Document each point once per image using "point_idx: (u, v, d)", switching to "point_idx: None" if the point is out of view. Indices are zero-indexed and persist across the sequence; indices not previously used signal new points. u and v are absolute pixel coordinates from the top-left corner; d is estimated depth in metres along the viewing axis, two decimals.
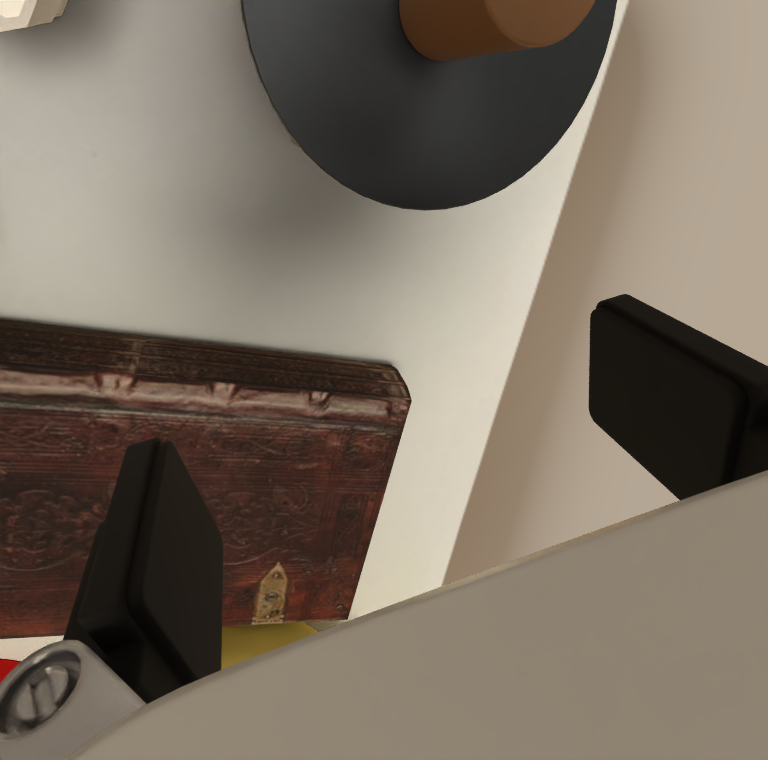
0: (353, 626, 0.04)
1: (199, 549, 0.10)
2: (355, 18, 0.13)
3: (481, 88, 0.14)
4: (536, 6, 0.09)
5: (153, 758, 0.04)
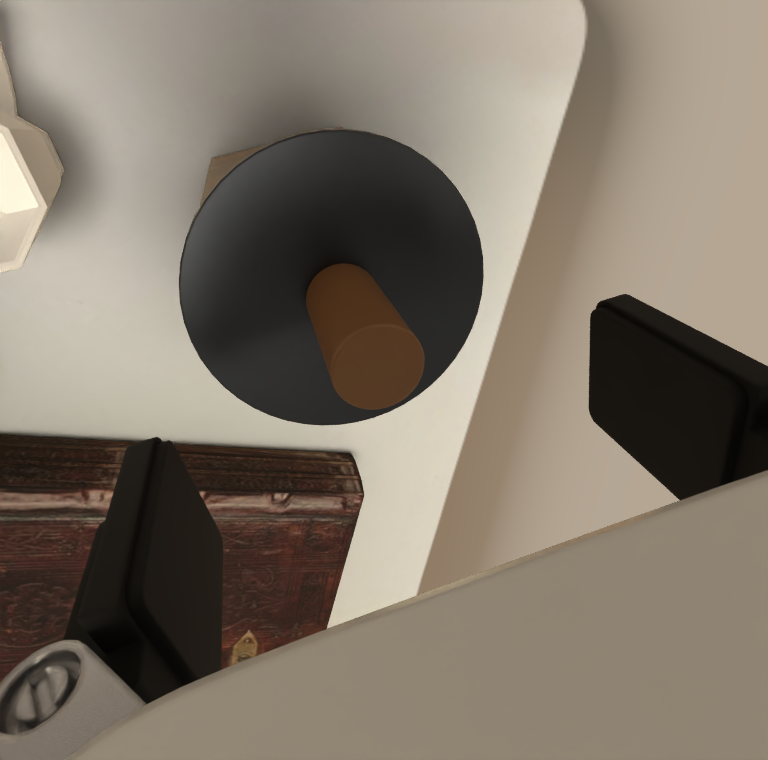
0: (354, 626, 0.04)
1: (199, 549, 0.10)
2: (272, 314, 0.17)
3: None
4: (376, 390, 0.13)
5: (154, 757, 0.04)
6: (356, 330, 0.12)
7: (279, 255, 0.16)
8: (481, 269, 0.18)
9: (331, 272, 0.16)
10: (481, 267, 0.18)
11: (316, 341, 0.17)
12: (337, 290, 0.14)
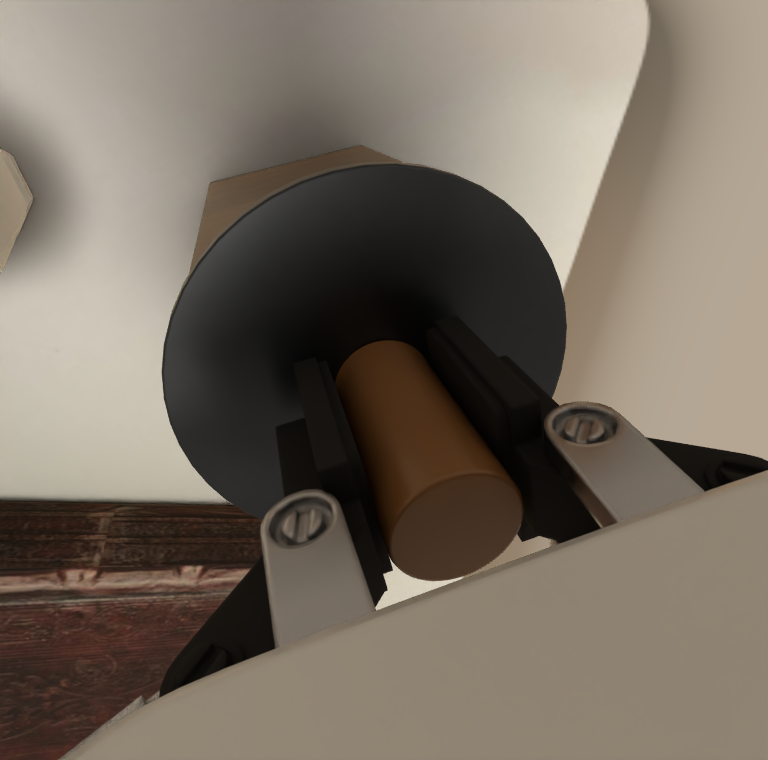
0: (353, 626, 0.04)
1: None
2: (289, 407, 0.12)
3: None
4: (451, 557, 0.09)
5: (153, 758, 0.04)
6: (428, 481, 0.08)
7: (300, 333, 0.11)
8: (563, 340, 0.13)
9: (372, 356, 0.11)
10: (563, 337, 0.13)
11: None
12: (385, 390, 0.10)
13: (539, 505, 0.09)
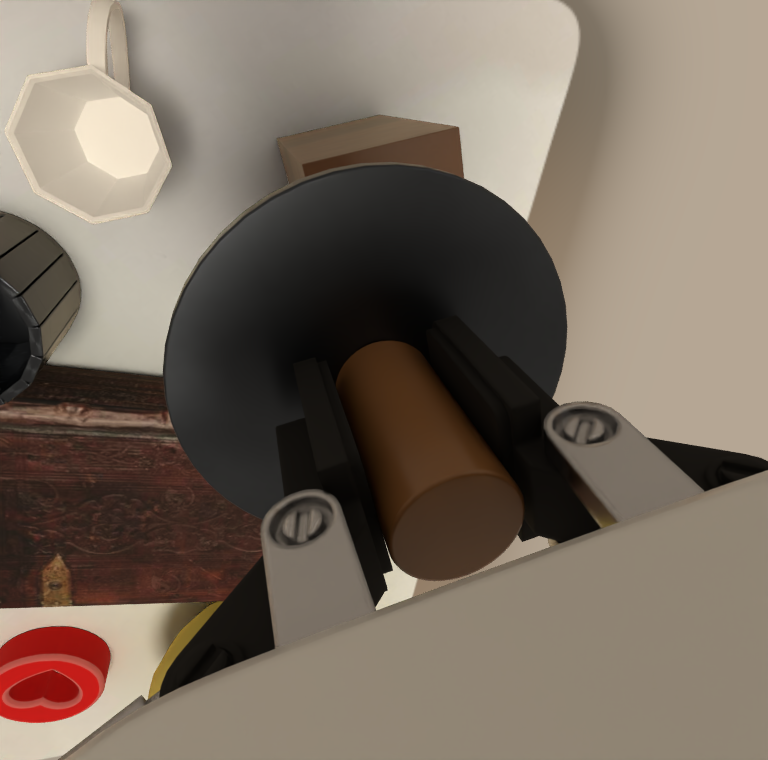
0: (354, 626, 0.04)
1: None
2: (290, 407, 0.12)
3: None
4: (452, 557, 0.09)
5: (154, 757, 0.04)
6: (429, 481, 0.08)
7: (301, 333, 0.11)
8: (564, 340, 0.13)
9: (373, 357, 0.11)
10: (564, 338, 0.13)
11: None
12: (386, 391, 0.10)
13: (539, 505, 0.09)
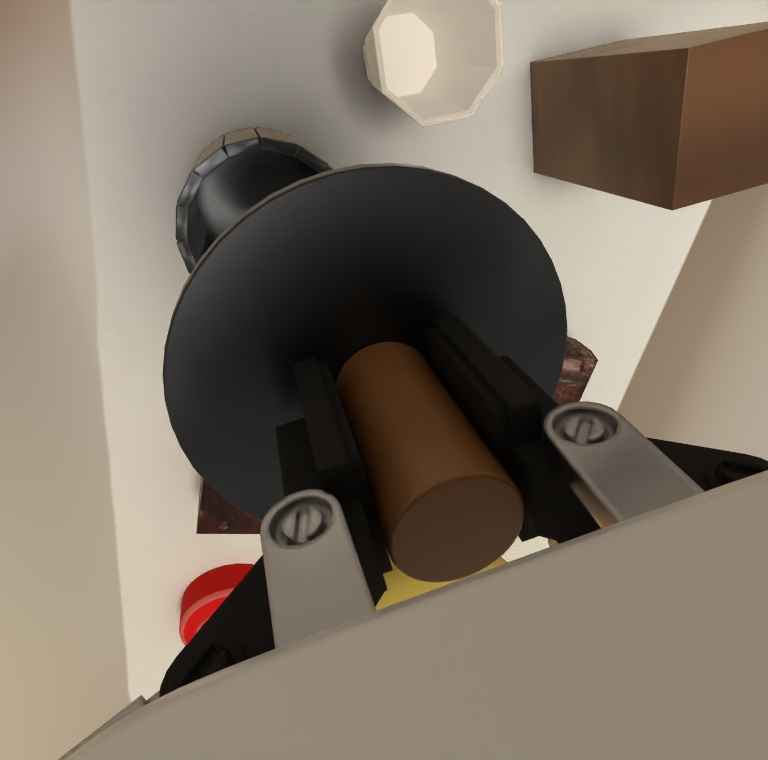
0: (353, 626, 0.04)
1: None
2: (290, 408, 0.12)
3: None
4: (452, 559, 0.09)
5: (153, 758, 0.04)
6: (429, 483, 0.08)
7: (301, 334, 0.11)
8: (564, 341, 0.13)
9: (373, 358, 0.11)
10: (564, 339, 0.13)
11: None
12: (386, 392, 0.10)
13: (539, 505, 0.09)
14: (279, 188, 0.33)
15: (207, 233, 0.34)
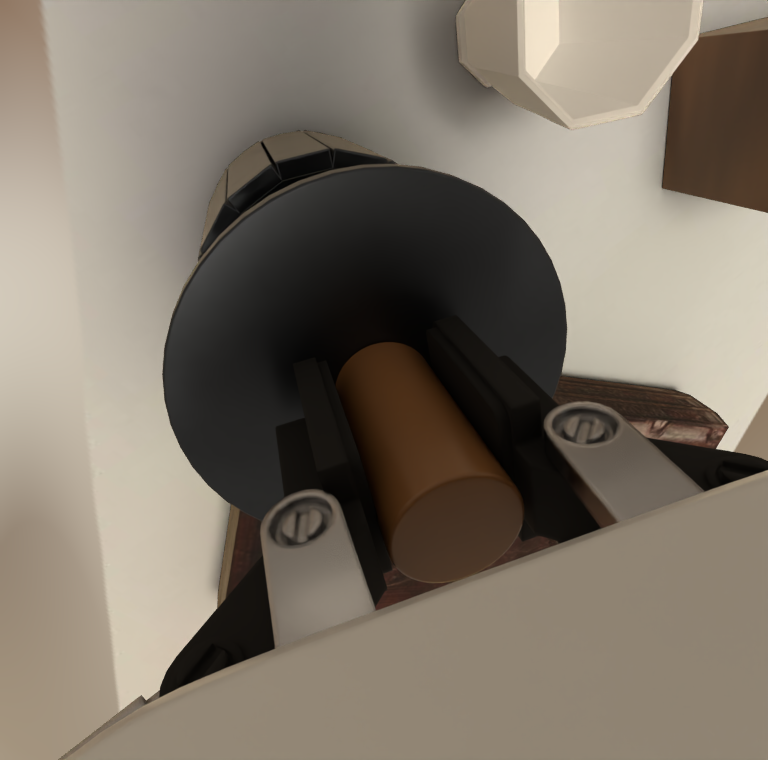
0: (354, 626, 0.04)
1: None
2: (290, 408, 0.12)
3: None
4: (452, 559, 0.09)
5: (154, 757, 0.04)
6: (429, 484, 0.08)
7: (301, 335, 0.11)
8: (564, 341, 0.13)
9: (373, 358, 0.11)
10: (564, 339, 0.13)
11: None
12: (386, 393, 0.10)
13: (539, 505, 0.09)
14: None
15: None
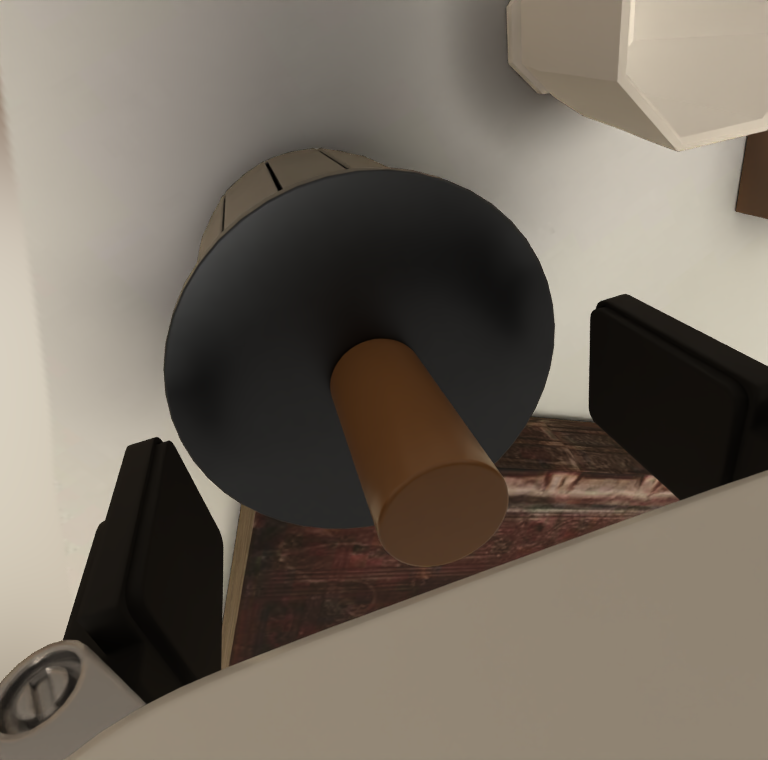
0: (353, 626, 0.04)
1: (199, 549, 0.10)
2: (287, 403, 0.13)
3: None
4: (439, 543, 0.09)
5: (153, 758, 0.04)
6: (416, 470, 0.08)
7: (296, 331, 0.12)
8: (551, 339, 0.14)
9: (366, 354, 0.12)
10: (552, 336, 0.14)
11: (342, 433, 0.14)
12: (378, 386, 0.11)
13: None
14: None
15: None
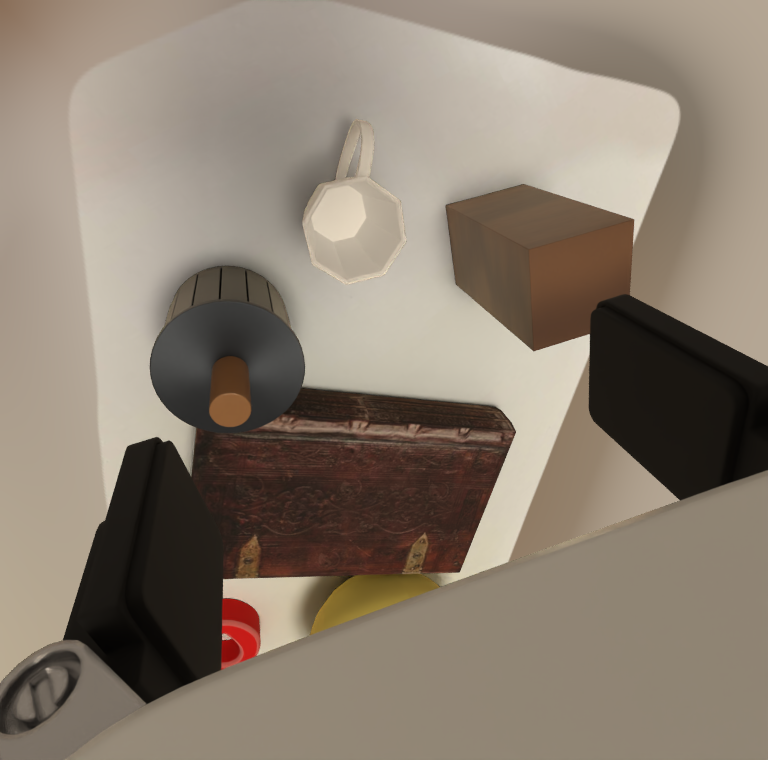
0: (354, 626, 0.04)
1: (199, 549, 0.10)
2: (196, 380, 0.34)
3: (252, 392, 0.36)
4: (230, 419, 0.31)
5: (154, 757, 0.04)
6: (218, 395, 0.30)
7: (197, 354, 0.34)
8: (302, 355, 0.36)
9: (221, 362, 0.34)
10: (302, 354, 0.36)
11: None
12: (219, 373, 0.32)
13: None
14: None
15: None
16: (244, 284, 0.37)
